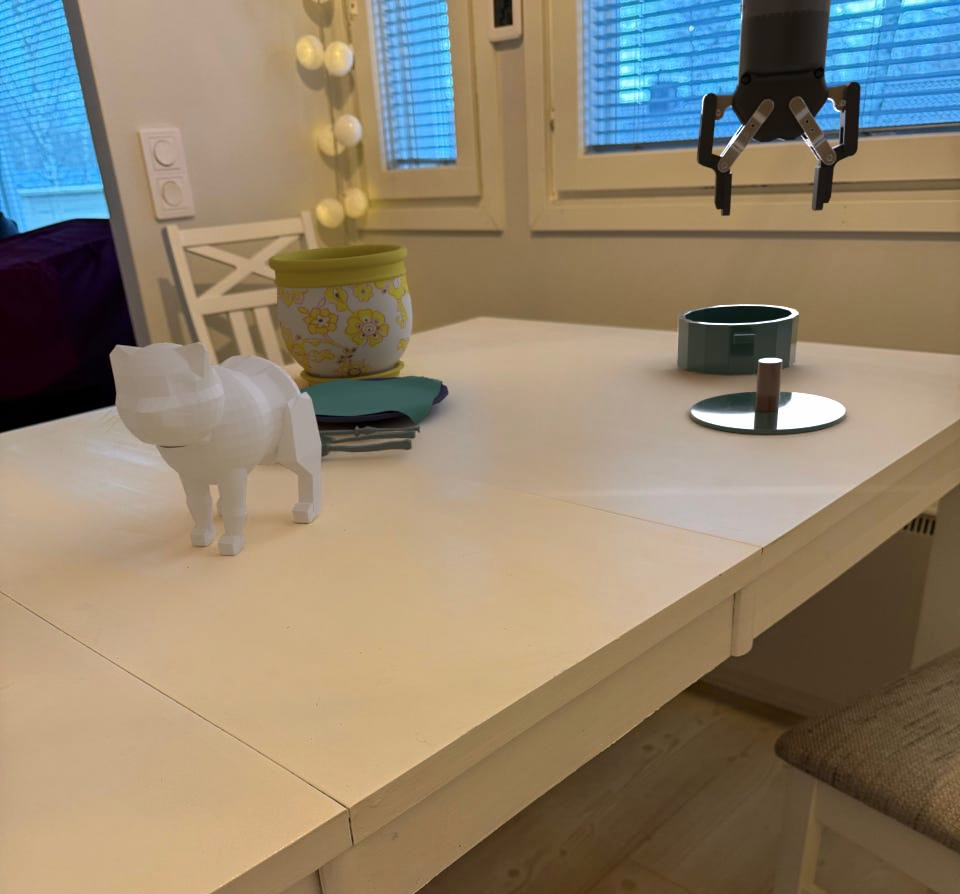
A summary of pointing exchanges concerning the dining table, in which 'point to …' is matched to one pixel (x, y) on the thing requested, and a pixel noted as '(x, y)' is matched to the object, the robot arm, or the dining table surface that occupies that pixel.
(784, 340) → the tin
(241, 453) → the cat figurine
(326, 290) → the flowerpot
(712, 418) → the cover
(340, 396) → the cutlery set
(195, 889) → the dining table surface
